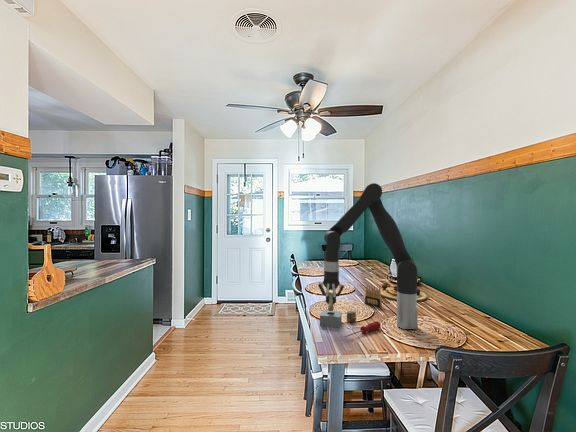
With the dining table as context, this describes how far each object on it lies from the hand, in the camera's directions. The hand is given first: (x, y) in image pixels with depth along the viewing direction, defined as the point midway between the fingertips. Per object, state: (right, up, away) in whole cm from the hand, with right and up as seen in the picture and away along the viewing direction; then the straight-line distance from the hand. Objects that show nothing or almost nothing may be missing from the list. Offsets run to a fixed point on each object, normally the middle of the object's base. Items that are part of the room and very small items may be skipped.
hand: (330, 303), depth 153 cm
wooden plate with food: (+58, -12, +56) cm, 82 cm away
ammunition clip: (+31, -11, +32) cm, 46 cm away
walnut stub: (+11, -10, +4) cm, 16 cm away
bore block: (0, -10, 0) cm, 10 cm away
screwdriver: (+13, -10, -14) cm, 22 cm away
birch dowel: (0, -3, 0) cm, 3 cm away
